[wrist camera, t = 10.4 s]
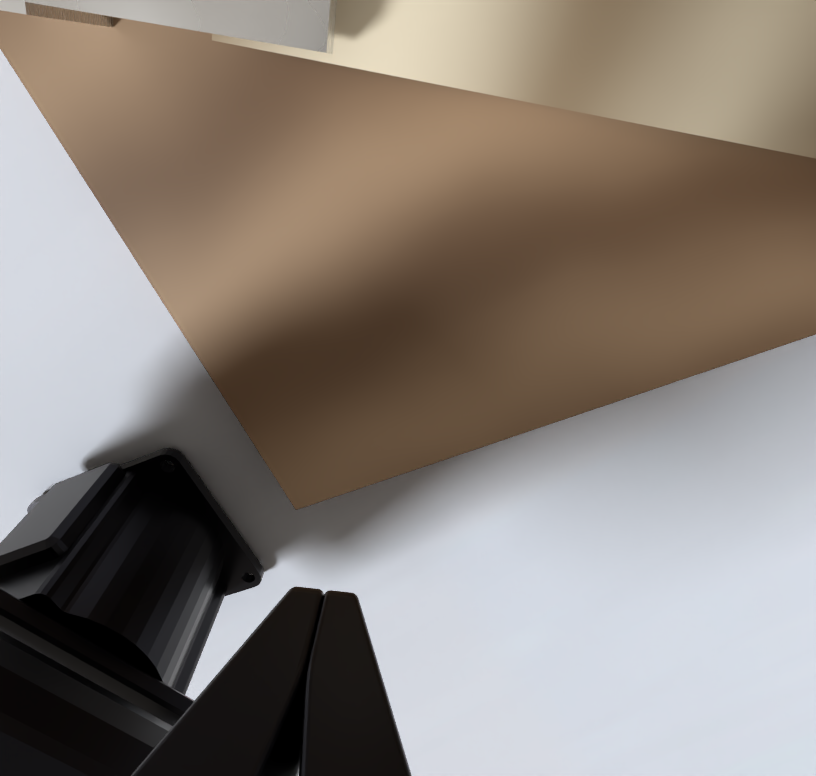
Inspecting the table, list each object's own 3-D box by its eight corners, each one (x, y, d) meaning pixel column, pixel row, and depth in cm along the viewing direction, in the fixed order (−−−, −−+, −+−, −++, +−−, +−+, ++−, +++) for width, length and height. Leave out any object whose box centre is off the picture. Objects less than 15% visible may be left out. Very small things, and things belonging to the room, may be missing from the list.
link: (1072, 23, 13) (1222, 11, 11) (964, 209, 15) (1069, 236, 13) (244, -151, 12) (197, -209, 10) (236, 68, 14) (194, 66, 12)
